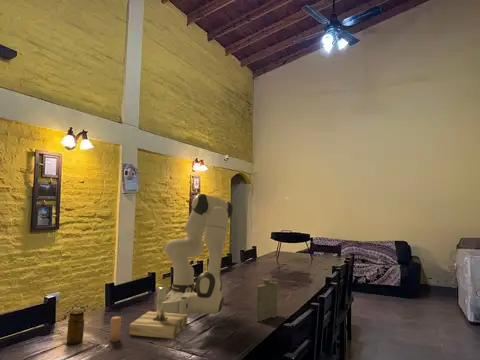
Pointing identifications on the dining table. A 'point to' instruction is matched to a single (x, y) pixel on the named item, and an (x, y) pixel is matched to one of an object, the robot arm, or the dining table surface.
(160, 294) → the tall metal pin
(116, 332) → the short terracotta pin
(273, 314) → the hip flask
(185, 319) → the hole block
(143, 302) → the dining table surface
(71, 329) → the condiment
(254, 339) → the dining table surface
